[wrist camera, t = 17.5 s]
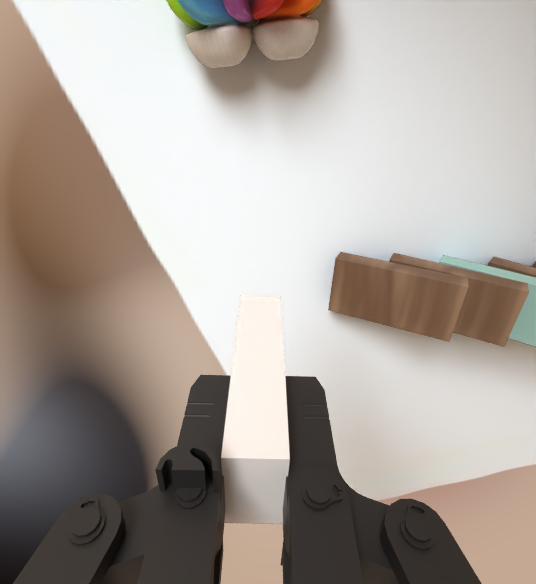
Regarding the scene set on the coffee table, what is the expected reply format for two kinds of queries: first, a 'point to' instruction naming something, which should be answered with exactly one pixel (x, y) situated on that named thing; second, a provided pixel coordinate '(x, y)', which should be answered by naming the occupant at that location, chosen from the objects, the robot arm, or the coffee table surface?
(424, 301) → the domino
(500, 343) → the domino
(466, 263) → the teal domino
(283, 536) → the robot arm
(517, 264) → the domino
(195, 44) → the colorful disc cluster
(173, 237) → the coffee table surface
